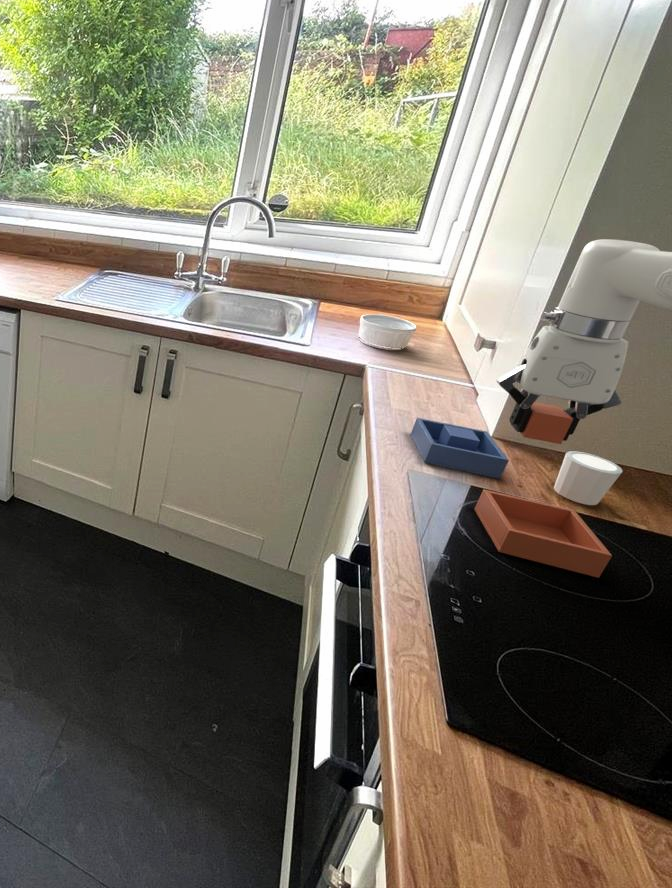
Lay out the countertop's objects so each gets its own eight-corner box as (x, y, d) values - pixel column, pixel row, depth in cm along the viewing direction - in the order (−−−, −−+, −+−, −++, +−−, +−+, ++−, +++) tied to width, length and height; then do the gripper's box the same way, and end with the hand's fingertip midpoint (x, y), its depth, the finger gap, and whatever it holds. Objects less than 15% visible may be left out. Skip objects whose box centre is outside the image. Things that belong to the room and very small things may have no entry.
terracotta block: (561, 444, 90) (573, 418, 88) (523, 437, 92) (535, 412, 90) (548, 431, 94) (560, 406, 92) (513, 424, 95) (524, 400, 94)
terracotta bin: (599, 578, 83) (612, 555, 82) (498, 552, 88) (509, 530, 86) (562, 530, 93) (574, 509, 91) (473, 509, 97) (483, 489, 96)
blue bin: (500, 479, 106) (509, 460, 104) (424, 462, 110) (431, 443, 109) (479, 449, 115) (487, 431, 114) (410, 434, 120) (416, 417, 118)
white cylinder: (539, 486, 104) (556, 453, 101) (564, 480, 106) (581, 448, 103) (587, 510, 98) (607, 475, 95) (613, 503, 100) (632, 469, 97)
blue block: (471, 461, 110) (480, 441, 108) (442, 455, 112) (450, 435, 110) (463, 450, 114) (472, 430, 112) (435, 444, 115) (443, 424, 114)
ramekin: (348, 342, 169) (355, 319, 166) (361, 332, 177) (368, 310, 174) (402, 356, 160) (410, 332, 157) (413, 345, 168) (422, 322, 166)
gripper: (523, 322, 86) (478, 430, 93) (683, 343, 79) (621, 457, 86) (505, 309, 92) (464, 410, 99) (651, 327, 85) (596, 435, 92)
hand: (538, 431), depth 92 cm, fingers closed on terracotta block, 4 cm apart
